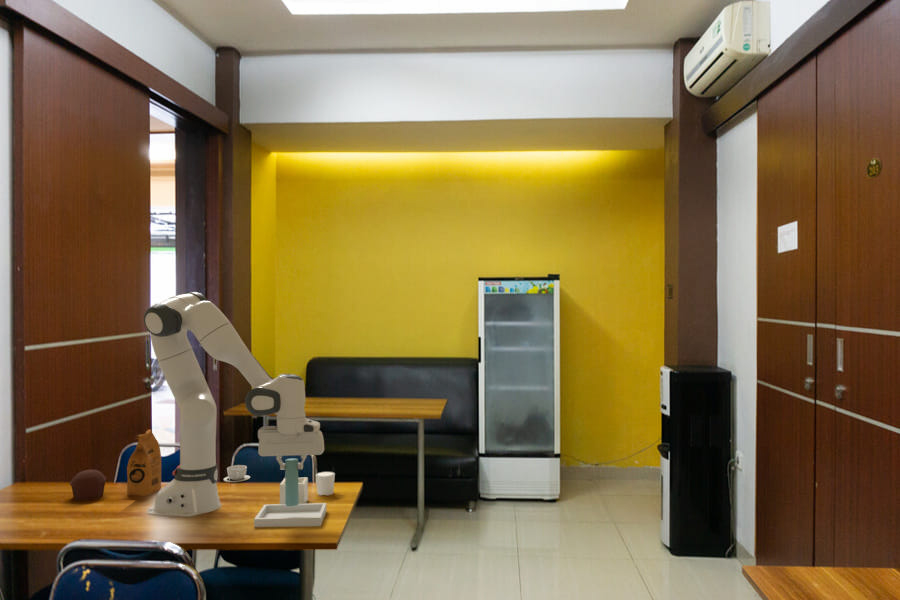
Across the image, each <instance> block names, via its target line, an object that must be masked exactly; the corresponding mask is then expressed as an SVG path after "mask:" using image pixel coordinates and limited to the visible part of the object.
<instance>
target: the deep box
mask: <svg viewBox="0 0 900 600" xmlns="http://www.w3.org/2000/svg"><path fill="white" fill-rule="evenodd" d="M308 483H309V478H308V477H306V476H304V477H298V496H299V504H308V503H307V502H308V500H309V484H308ZM279 504H286V499H285V477H284V478H283V480H282V481H281V482H280V484H279Z"/></svg>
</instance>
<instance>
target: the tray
mask: <svg viewBox="0 0 900 600" xmlns="http://www.w3.org/2000/svg"><path fill="white" fill-rule="evenodd" d="M326 513H327V503H326V502H317V503H314V502H313V503H312V502H311V503H306V504H298V505H296V506H286V504H280V503H277V504H276V503H274V504H268V503H267V504H263V506H262V507H261V508H260V510H259V512H258V513H257V514H256V515H255V518H254V519H253V527H254V528H272V527H273V528H279V527H281V528H283V527H284V528H287V527H321V526H322V524H323V521H324V519H325V517H326V515H327V514H326Z"/></svg>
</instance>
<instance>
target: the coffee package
mask: <svg viewBox="0 0 900 600" xmlns="http://www.w3.org/2000/svg"><path fill="white" fill-rule="evenodd" d="M153 433H154V432H153V431H152V429H148V430H146V431H145V433H143V434H137V435H136V436H135V437H134V439H135V440H138V442H137V444H136V447H135V450H134V451H133V452H132V454H131V455H130V457H129V459H128V463H127V466H126V475H127V485H126V495H127V496H139V497H144V496H150V495H153V494H154V493H156V492H159V491H160V490H161V489H162V454H161V447H160V444H159V442H158V440H157V438H156V436H155V434H153Z"/></svg>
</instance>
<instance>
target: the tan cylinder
mask: <svg viewBox="0 0 900 600" xmlns="http://www.w3.org/2000/svg"><path fill="white" fill-rule="evenodd" d="M335 476H336V473H335V472H333V471H321V472H317V473H316V474H315V482H316V483H315V484H316V493H317V495H319V496H322V495H326V496H330V495H333V494H334V491H335V490H334V487H335Z"/></svg>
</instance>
